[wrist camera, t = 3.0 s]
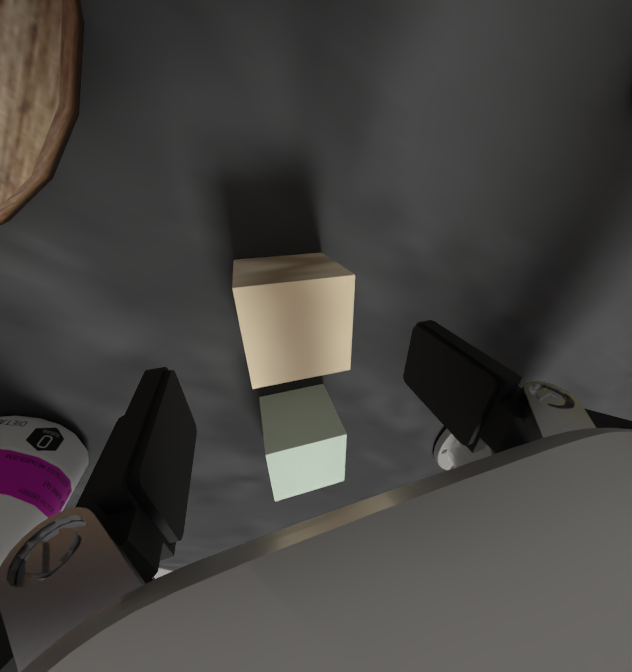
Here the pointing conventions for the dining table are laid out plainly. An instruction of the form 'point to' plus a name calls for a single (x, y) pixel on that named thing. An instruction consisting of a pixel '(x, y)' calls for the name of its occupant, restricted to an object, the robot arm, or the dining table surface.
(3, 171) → the trivet
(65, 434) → the supplement can
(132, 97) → the dining table surface
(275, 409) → the sage cube
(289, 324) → the beech cube
